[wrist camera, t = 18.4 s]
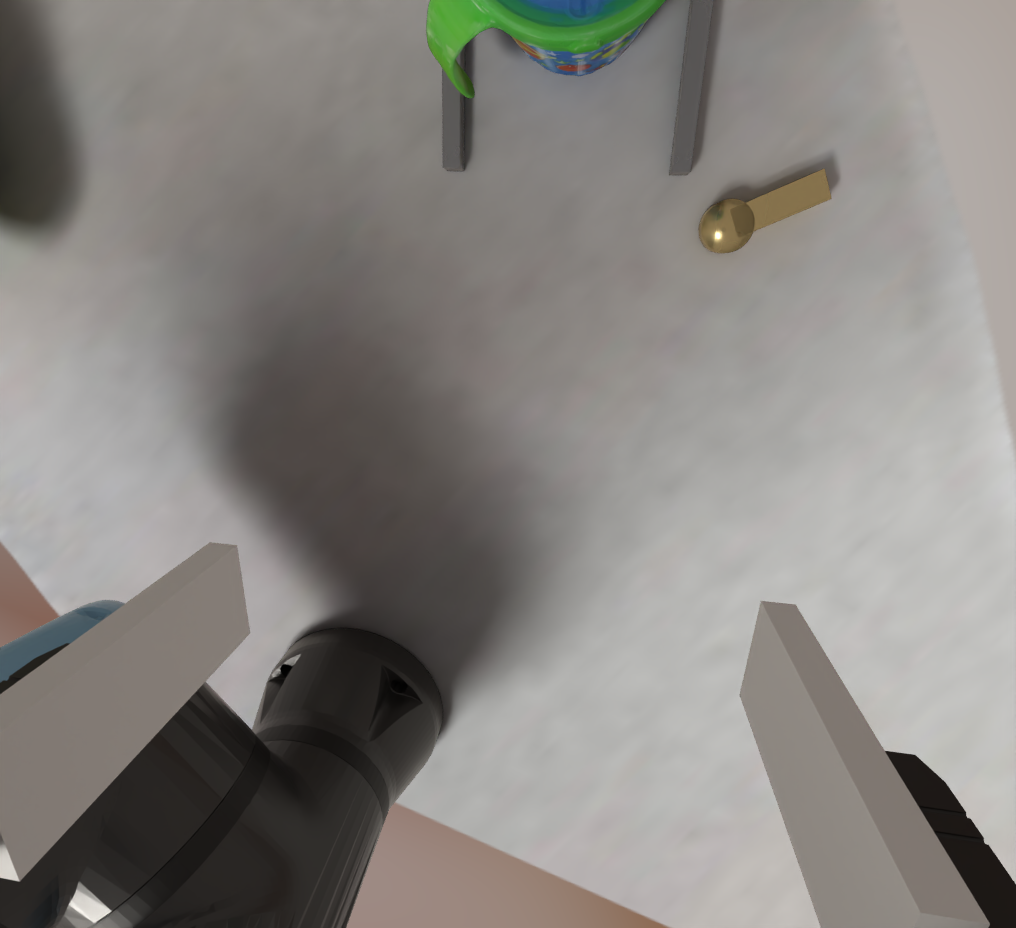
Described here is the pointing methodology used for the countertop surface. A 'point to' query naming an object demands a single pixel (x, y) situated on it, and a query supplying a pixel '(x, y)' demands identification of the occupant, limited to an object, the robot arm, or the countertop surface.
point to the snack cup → (538, 31)
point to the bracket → (685, 110)
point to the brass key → (759, 212)
